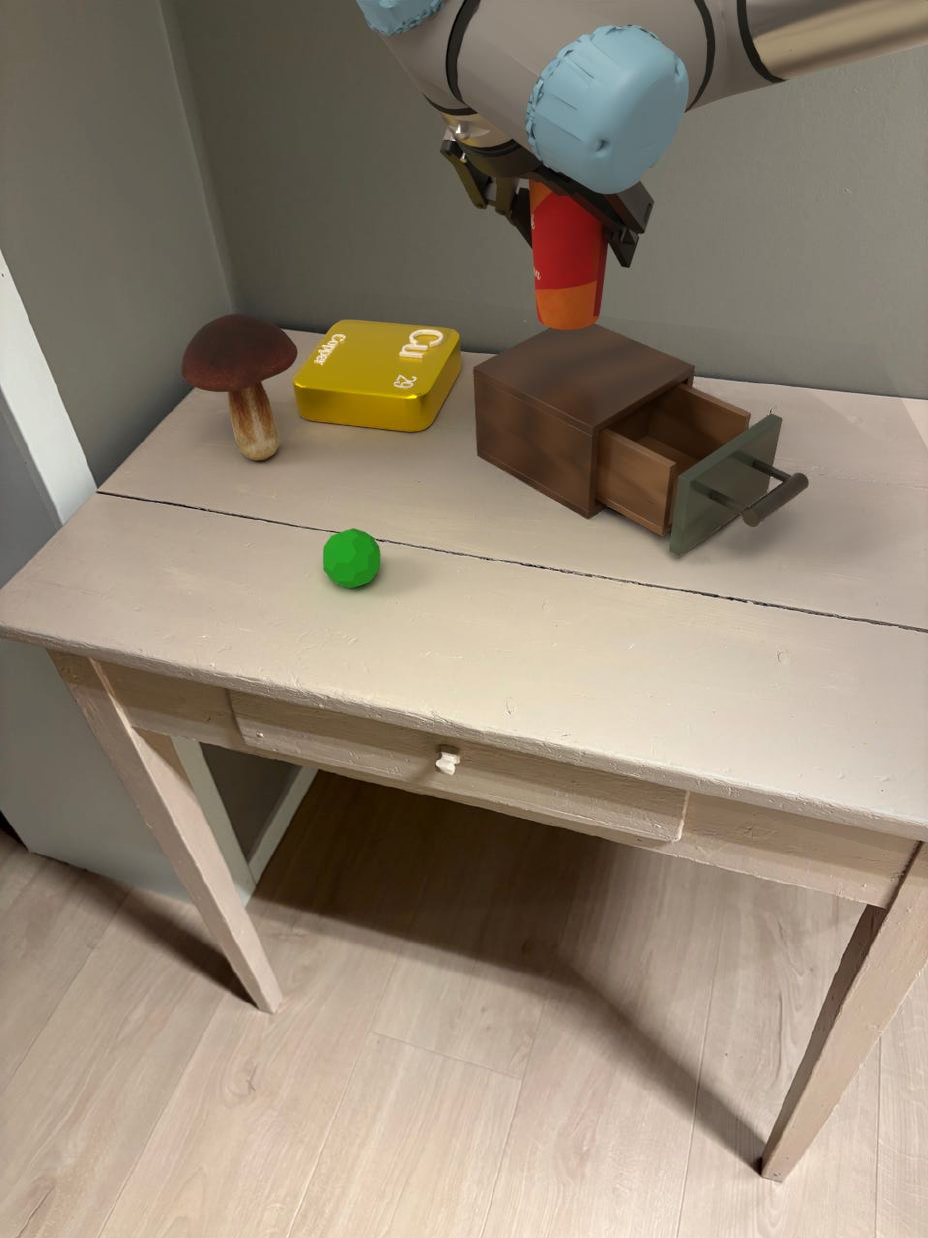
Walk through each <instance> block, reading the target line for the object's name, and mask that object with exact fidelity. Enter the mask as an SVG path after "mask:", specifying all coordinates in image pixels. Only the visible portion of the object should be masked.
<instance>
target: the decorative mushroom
mask: <svg viewBox="0 0 928 1238" xmlns="http://www.w3.org/2000/svg"><path fill="white" fill-rule="evenodd" d="M297 347H298V346H297V345H296V344H295V342H294V341H293V340H292V338H291V337H289V335H288V334H287V333H286V332H285V331H284V330H283V329H282V328H280V327H279V326H277V325H276V324H274V323H273V322H270V321H269V320H267V319H263V318H260V317H257V316H254V315H253V316H252V315H250V314H243V313H230V314H225V315H223V316H219V317H218V318H215V319H212V320H211V321H209V322H207V323H205V324H204V325H203V326H202V327H201V328H200V329H198V330H197V332H196V333H195V334H194V336H193V337H192V338H191V340H190V341H189V343H188V344H187V346H186V347H185V350H184V352H183V354H182V355H183V356H182V361H181V367H180V373H181V377H182V379H183V381H185V382H186V383H187V384H188V385H190V386H192V387H194V388H197V389H199V390H202V391H207V392H214V393H227V397H228V400H227V401H228V408H229V415H230V420H231V426H232V430H233V436H234V439H235V443H236V445H237V448H238V450H239V451H240V453H241V454H242V455H243V456H244V457H245V458H247V459H248V460H251V461H256V462H257V461H258V462H259V461H263V460H267V459H269V458H270V457H272V456H273V455H275V453H276V451H277V450H278V447H279V444H280V441H279V433H278V428H277V425H276V421H275V417H274V414H273V410H272V406H271V402H270V399H269V397H268V393H267V391H266V390H265V387H264V385H263V383H262V382H263V381H265V380H267V379H270V378H272V377H273V378H274V377H275V376H277V375H280V374H282V373H284V372H286V371H287V370H289V369H290V368H291V367H293V365H294V363H295V361H296V359H297V357H298V353H299V352H298V348H297Z"/></svg>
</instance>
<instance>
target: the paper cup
mask: <svg viewBox="0 0 928 1238" xmlns="http://www.w3.org/2000/svg"><path fill="white" fill-rule="evenodd" d="M528 189H529V195H530V212H531V230H532V247H533V250H532V259H533V260H532V262H533V279H534V294H535V295H534V296H535V307H536V315H537V319H538V320H539V322H540V323H541V324H542V325H544V326H546V327H547V328H550V327H551V328H554V329H560V330H575V329H581V328H585V327H588V326H590V325H592V324H594V323H595V324H596V322H597V321H598V320H599V318H600V315H601V307H602V300H603V293H604V285H605V284H604V283H605V276H606V267H607V258H608V250H609V243H608V241H607V239H606V237H605V236H604V231H605V228H606V226H605V225H604V224H602V223H601V222H600V221H599V220H597V219H596V218H595V217H594V216H592V215H591V214H590V213H589V212H587V211H586V210H585V209H584V208H583V207H581V206H580V205H579V204H578V203H576V202H575V201H574V200H573V199H571V198H570V197H569V196H558V195H556V194H555V193H554V192H553V191H551V190H550V189H549V188H548V187H546V186H545V185H544V184H543V183H541V182H540V183H537V182H535V181H534V180H532V179H528Z"/></svg>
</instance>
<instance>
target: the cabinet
mask: <svg viewBox="0 0 928 1238" xmlns="http://www.w3.org/2000/svg"><path fill="white" fill-rule="evenodd" d="M695 371H696V366H695V365H694V364H692V363H690V362H687V361H685V360H682V359H680V358H678V357H675V356H673V355H670V354H668V353H666V352H663V351H661V350H658V349H657V348H655V347H651V346H649V345H647V344H644V343H643V342H640V341H638V340H635V339H633V338H632V337H631V338H630V337H628V336H625V335H623V334H621V333H618V332H616V331H614V330H611V329H610V328H607V327H604V326H602V325H600V324H597V323H596V322H595V323H594V324H592V325H590V326H588V327H585V328H581V329H575V330H560V329H554V328H551V327H547V329H545V330H542V331H540V332H538V333H536V334H535V335H533V336H530V337H529V338H527V339H525V340H523V341H521V342H519V343H517V344H515V345H513V346H511V347H509V348H507V349H506V350H504V351H501V352H499V353H498V354H496V355H494V356H491V357H490V358H487V359H486V360H484V361H482V362H480V363H478V364H476V365H474V366H472V374H473V395H474V417H475V419H474V420H475V435H476V436H475V437H476V439H475V440H476V456H477V457H479V458H481V459H483V460H485V461H486V462H488V463H489V464H491V465H493V466H495V467H496V468H497V469H500V470H502V471H503V472H505V473H506V474H508V475H510V476H512V477H514V478H515V479H517V480H518V481H521V482H522V483H524V484H525V485H528V486H530V487H531V488H533V489H534V490H536V491H538V492H540V493H542V494H543V495H545V496H547V497H548V498H550V499H552V500H554V501H555V502H557V503H559V504H561V505H562V506H563V507H565V508H567V509H569V510H571V511H573V512H574V513H576V514H578V515H579V516H581V517H583V518H584V519H587V520H589V519H591V518H592V517H593V516H595V515H597V514H599V513H600V512H601V511H603V510H605V509H606V508H607V507H608V506H607V505H605V504H603V503H602V502H600V501H598V500H596V499H595V493H596V475H597V457H598V439H599V432H600V431H601V430H603V429H605V428H606V427H608V426H609V425H611V424H613V423H614V422H616V421H618V420H619V419H621V418H623V417H624V416H626V415H628V414H629V413H631V412H633V411H634V410H636V409H638V408H639V407H641V406H643V405H644V404H646V403H648V402H649V401H651V400H653V399H654V398H656V397H658V396H659V395H661V394H662V393H664V392H666V391H667V390H669V389H671V388H672V387H674V386H676V385H677V384H679V383H681V382H682V383H684V384H686V385H688V386H691V387H693V388H694V380H695Z"/></svg>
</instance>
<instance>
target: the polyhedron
mask: <svg viewBox="0 0 928 1238" xmlns="http://www.w3.org/2000/svg"><path fill="white" fill-rule="evenodd" d="M322 548H323V549H322V566H323V567H322V568H323V571H324V573H325V574H326V576H327V577H328V578H329V579H330V581H331V582H333V583H334V584H336V585H338V586H341V587H344V588H347V589H353V588H357V587H360V586H362V585H365V584H368V583H370V582H371V581H373V579H374V578H375V576H376V575H377V573H378V572H379V571H380V568H381V549H380V546H379V544H378V542H377V541H376V539H375V538H374V537H373V536H372V535H371V534H369V533H367V532H366V531H364V530H361V529H358V528H355V527H353V528H350V529H349V528H348V529H346V530H343V531H340V532H337V533H334V534H333V535H330V537H329V538H328V540H327V541H326V542H325V543H324V545H323V547H322Z"/></svg>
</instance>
